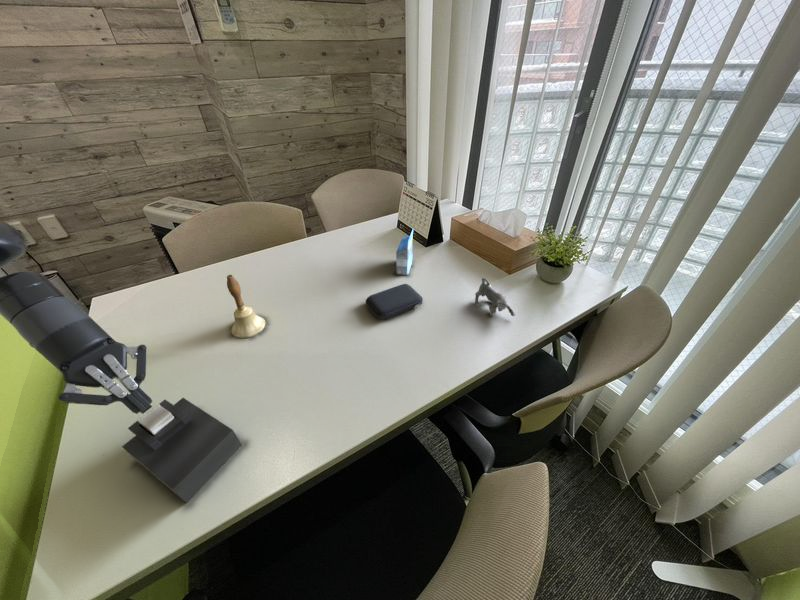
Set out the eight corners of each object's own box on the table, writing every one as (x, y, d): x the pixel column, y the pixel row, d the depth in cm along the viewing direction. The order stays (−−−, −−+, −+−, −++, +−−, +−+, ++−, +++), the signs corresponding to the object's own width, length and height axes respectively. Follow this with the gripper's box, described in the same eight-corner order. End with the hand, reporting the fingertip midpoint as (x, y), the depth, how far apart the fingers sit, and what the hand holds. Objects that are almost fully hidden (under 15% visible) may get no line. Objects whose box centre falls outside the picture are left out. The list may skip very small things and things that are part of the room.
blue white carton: (401, 259, 111) (401, 226, 103) (412, 261, 110) (413, 227, 102) (396, 274, 104) (395, 239, 96) (408, 275, 103) (408, 240, 95)
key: (142, 426, 56) (137, 420, 55) (162, 409, 58) (158, 404, 57) (154, 435, 54) (149, 430, 53) (175, 418, 57) (170, 412, 56)
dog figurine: (470, 300, 93) (474, 279, 89) (486, 294, 95) (490, 273, 91) (498, 325, 85) (503, 303, 80) (515, 318, 87) (521, 297, 82)
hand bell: (242, 315, 88) (222, 265, 78) (270, 318, 87) (254, 268, 78) (225, 336, 82) (201, 285, 72) (256, 339, 81) (235, 288, 71)
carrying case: (381, 326, 85) (427, 307, 91) (380, 317, 83) (428, 299, 89) (363, 304, 92) (407, 288, 98) (362, 295, 90) (407, 279, 96)
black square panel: (134, 459, 58) (113, 439, 54) (191, 411, 65) (176, 390, 61) (186, 503, 52) (167, 484, 48) (242, 445, 60) (229, 424, 56)
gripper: (2, 354, 44) (102, 443, 47) (109, 301, 53) (188, 377, 56) (14, 366, 49) (103, 444, 52) (110, 315, 58) (181, 385, 61)
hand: (147, 410), depth 54 cm, fingers closed
